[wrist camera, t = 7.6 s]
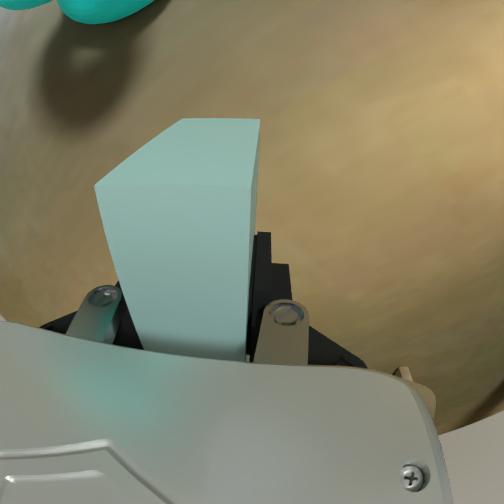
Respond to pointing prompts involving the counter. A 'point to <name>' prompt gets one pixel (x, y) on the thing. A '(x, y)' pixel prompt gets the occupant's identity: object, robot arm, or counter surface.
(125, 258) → the block
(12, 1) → the donuts
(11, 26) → the counter surface
